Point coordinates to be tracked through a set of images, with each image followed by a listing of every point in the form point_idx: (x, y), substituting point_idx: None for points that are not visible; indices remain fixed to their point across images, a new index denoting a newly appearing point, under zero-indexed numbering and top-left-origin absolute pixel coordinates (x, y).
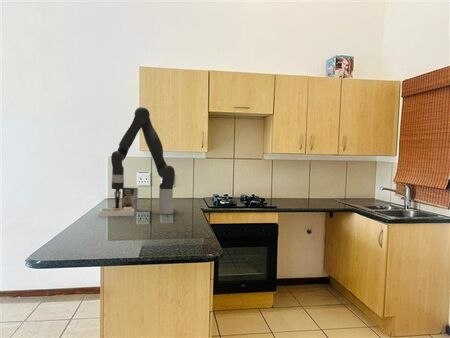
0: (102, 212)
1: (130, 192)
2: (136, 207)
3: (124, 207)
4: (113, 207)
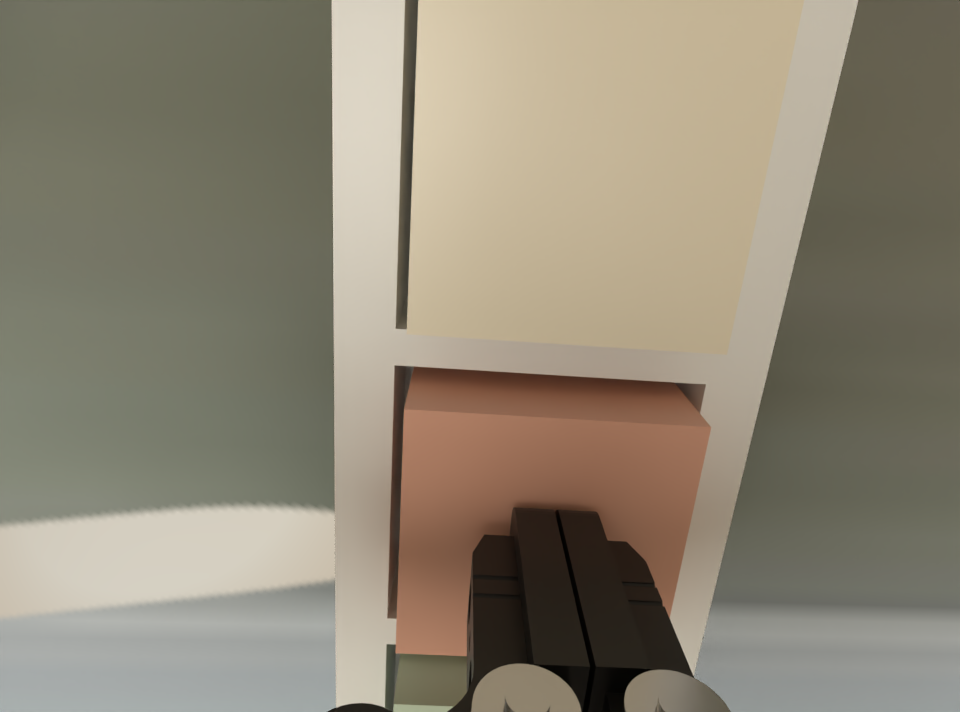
0: None
1: None
2: None
3: (485, 301)
4: (418, 645)
